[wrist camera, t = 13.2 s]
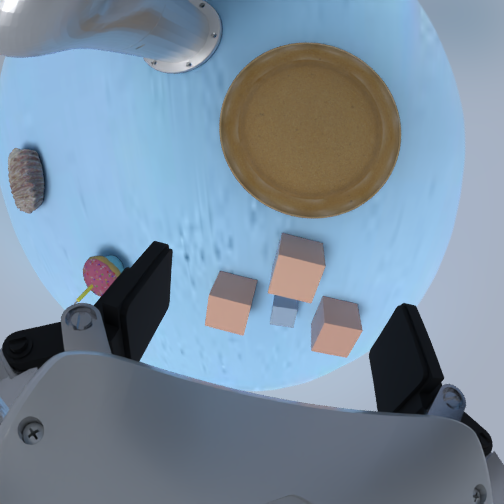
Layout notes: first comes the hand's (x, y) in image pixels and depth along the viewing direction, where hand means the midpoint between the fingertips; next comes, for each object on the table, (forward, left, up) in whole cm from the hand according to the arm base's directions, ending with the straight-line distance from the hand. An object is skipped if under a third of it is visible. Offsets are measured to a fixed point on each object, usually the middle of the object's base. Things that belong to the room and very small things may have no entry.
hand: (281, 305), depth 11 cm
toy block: (+4, -15, -33) cm, 36 cm away
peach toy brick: (-4, -25, -33) cm, 41 cm away
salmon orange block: (+14, -25, -33) cm, 43 cm away
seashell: (-51, -11, -33) cm, 62 cm away
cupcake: (-29, -27, -33) cm, 51 cm away
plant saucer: (+1, +4, -33) cm, 34 cm away
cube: (+4, -25, -33) cm, 41 cm away
